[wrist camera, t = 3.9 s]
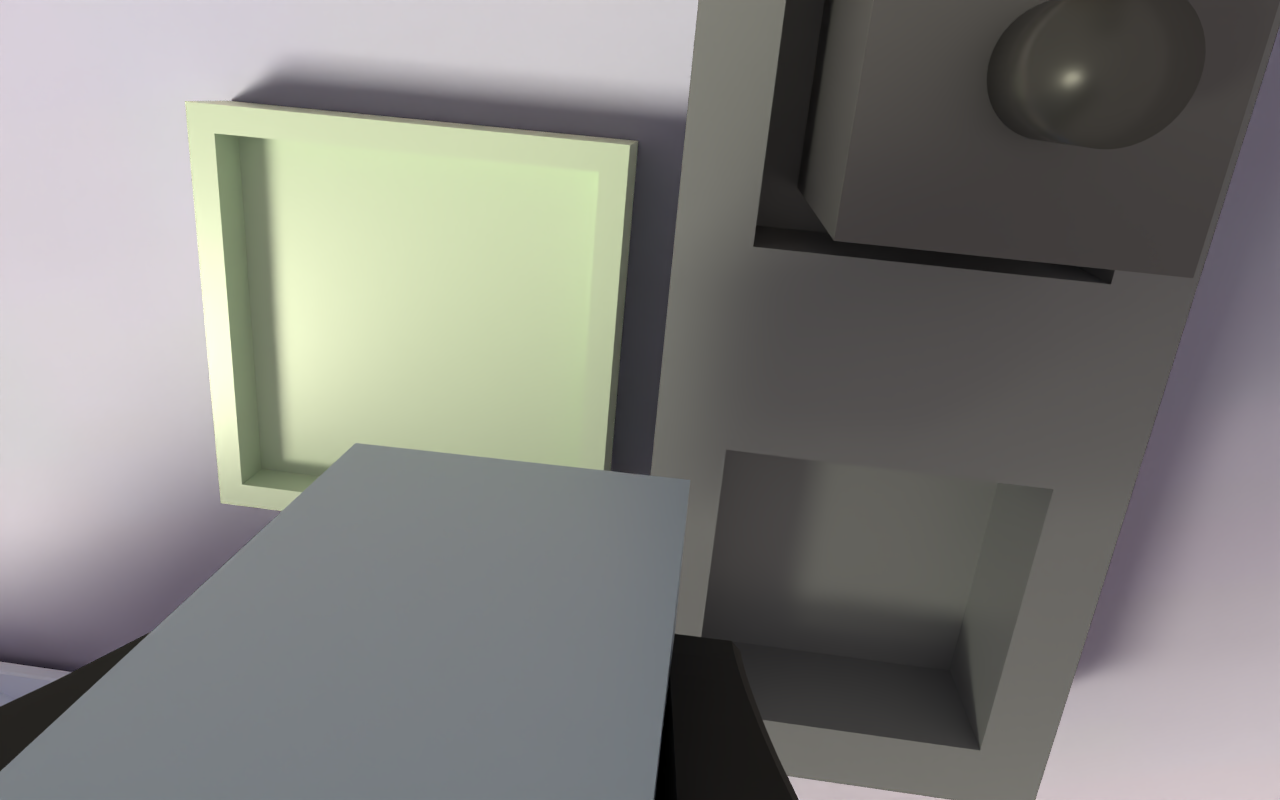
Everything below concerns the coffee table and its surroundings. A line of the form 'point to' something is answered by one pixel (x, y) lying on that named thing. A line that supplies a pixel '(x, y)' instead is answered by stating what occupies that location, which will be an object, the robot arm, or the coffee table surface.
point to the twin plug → (1030, 125)
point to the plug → (401, 647)
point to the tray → (405, 290)
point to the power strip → (890, 446)
